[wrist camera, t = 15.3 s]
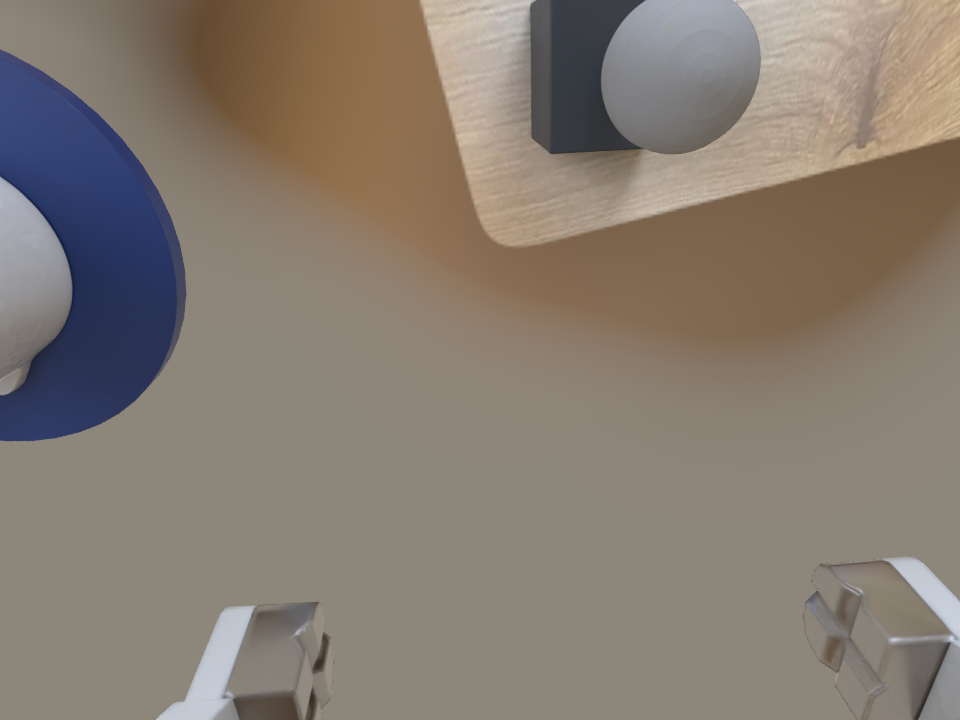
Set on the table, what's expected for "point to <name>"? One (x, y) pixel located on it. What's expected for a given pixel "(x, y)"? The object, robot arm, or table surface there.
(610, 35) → the block
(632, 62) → the light bulb
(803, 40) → the table surface
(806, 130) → the table surface
